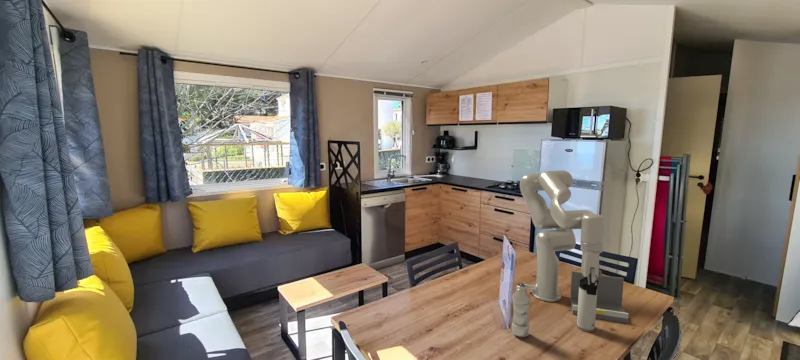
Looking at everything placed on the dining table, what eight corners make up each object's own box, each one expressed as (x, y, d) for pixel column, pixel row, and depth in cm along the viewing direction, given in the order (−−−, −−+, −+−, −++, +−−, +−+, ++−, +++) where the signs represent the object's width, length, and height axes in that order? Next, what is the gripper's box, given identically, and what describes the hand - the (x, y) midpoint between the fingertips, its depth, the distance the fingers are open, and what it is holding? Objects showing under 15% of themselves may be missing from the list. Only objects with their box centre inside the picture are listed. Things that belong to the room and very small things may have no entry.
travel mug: (598, 333, 133) (601, 283, 130) (579, 331, 134) (582, 282, 132) (592, 324, 139) (595, 277, 136) (574, 322, 140) (577, 275, 138)
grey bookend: (572, 314, 147) (574, 283, 145) (570, 300, 159) (571, 271, 157) (627, 323, 139) (630, 290, 137) (620, 308, 151) (623, 277, 150)
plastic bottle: (520, 341, 128) (522, 290, 125) (507, 332, 134) (508, 283, 131) (533, 336, 131) (535, 286, 128) (519, 328, 137) (521, 280, 134)
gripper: (578, 239, 141) (576, 279, 143) (583, 252, 125) (581, 297, 127) (599, 241, 139) (597, 282, 140) (606, 254, 123) (604, 300, 124)
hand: (589, 289), depth 134 cm, fingers open, 9 cm apart
